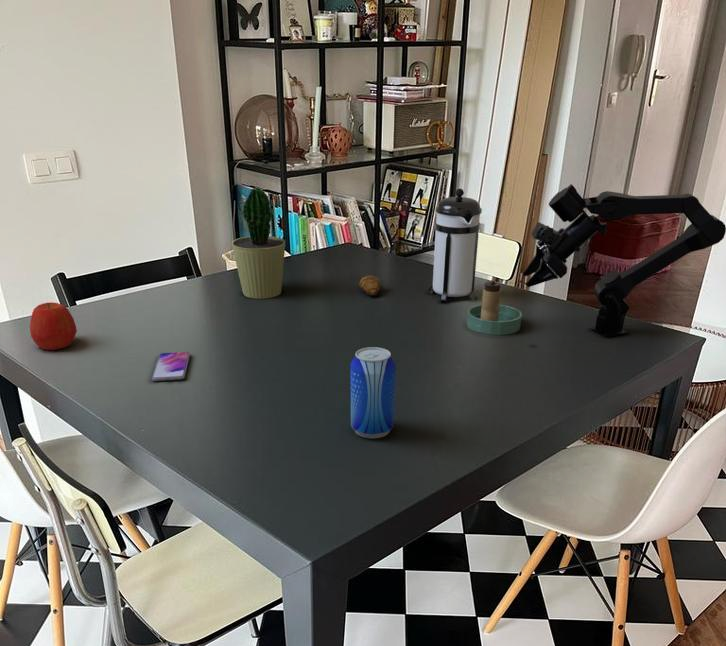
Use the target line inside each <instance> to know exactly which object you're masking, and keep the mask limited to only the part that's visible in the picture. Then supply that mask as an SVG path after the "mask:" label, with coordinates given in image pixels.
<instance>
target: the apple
mask: <svg viewBox="0 0 726 646" xmlns="http://www.w3.org/2000/svg"><path fill="white" fill-rule="evenodd" d="M29 332H30V337H31V339H32V340H33V343H34V344H35V345H36V346H37V347H39V348H40V349H41V350H47V351H58V350H60V349H64V348H67V347H68V346H71V345H72V344H73V342H74V339H75V337H76V335H77V332H78V330H77V326H76V322H75V319H74V317H73V315H72V314H71V312H70V311H69V309H68V308H67V307H66V306H65V305H64V304H61V303H59V302H52V301H50V302H43V303H41V304H38V305H36V307H34V308H33V309H32V313H31V317H30V322H29Z"/></svg>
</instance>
